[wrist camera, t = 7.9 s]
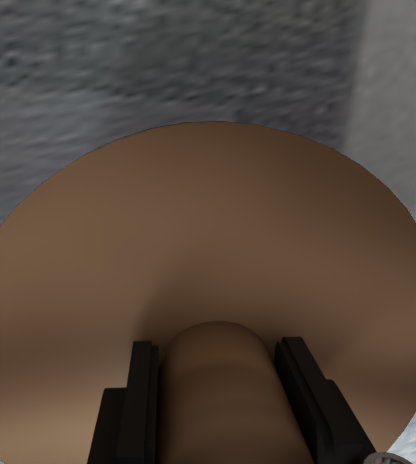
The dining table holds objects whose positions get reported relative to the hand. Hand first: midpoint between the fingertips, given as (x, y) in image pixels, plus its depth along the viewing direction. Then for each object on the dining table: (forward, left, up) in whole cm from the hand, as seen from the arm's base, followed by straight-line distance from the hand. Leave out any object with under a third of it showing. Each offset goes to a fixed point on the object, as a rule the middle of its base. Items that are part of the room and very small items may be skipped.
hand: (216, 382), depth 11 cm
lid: (0, 0, -2) cm, 2 cm away
